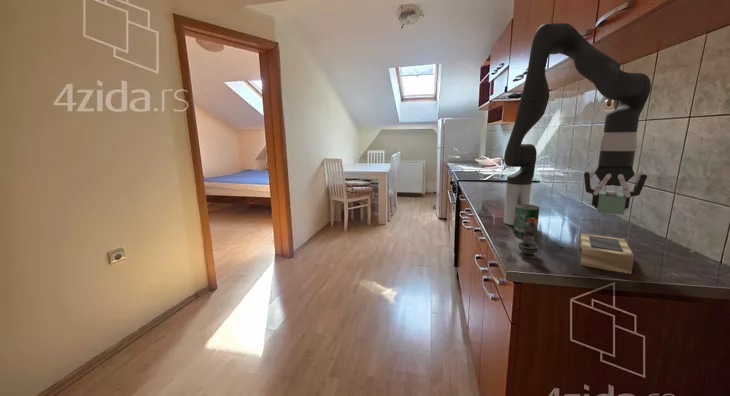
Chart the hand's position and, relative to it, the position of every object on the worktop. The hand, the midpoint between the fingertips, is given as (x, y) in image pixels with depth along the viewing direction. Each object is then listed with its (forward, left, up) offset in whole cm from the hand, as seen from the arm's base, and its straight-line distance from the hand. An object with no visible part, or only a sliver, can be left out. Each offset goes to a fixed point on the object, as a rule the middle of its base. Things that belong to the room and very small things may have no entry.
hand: (608, 208), depth 86 cm
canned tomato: (-14, -22, -16) cm, 31 cm away
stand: (0, 0, -16) cm, 16 cm away
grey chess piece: (+8, -19, -16) cm, 26 cm away
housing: (0, 0, 0) cm, 0 cm away
